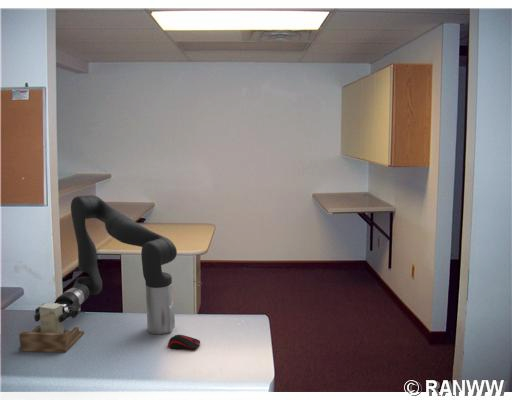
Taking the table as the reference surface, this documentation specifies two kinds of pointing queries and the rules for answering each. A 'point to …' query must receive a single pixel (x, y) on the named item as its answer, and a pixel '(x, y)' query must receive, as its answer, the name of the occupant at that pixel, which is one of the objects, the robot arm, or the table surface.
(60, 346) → the tray
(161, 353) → the table surface
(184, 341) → the computer mouse
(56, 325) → the skincare box
